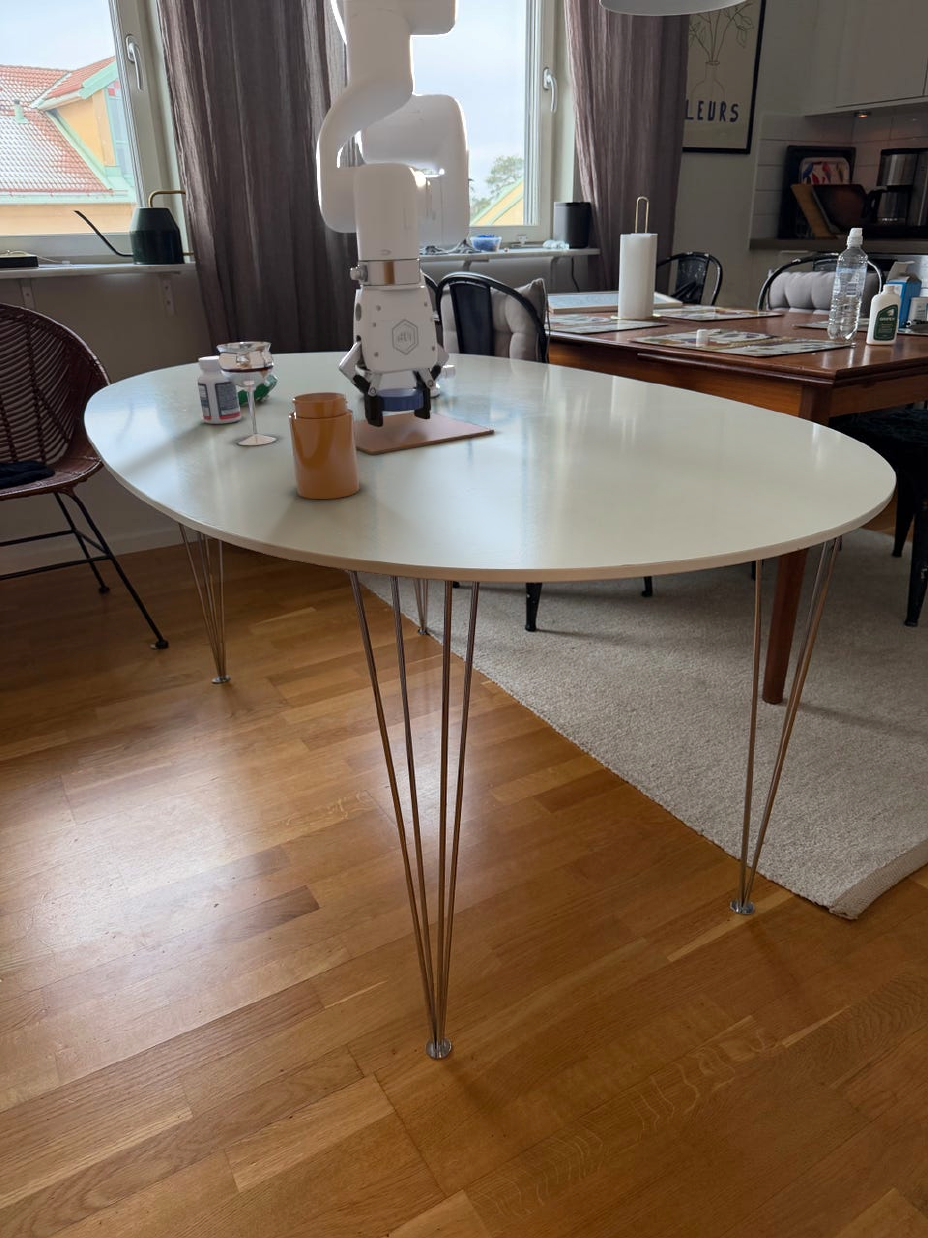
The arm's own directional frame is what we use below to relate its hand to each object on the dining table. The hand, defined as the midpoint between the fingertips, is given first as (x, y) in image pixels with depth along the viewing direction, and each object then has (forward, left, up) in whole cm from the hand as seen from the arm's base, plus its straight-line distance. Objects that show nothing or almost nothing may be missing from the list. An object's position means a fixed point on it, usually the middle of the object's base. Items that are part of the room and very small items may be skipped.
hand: (399, 420), depth 113 cm
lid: (0, 0, +3) cm, 3 cm away
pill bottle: (+16, -24, -2) cm, 29 cm away
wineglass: (+17, -8, -2) cm, 19 cm away
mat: (0, 0, -2) cm, 2 cm away
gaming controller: (+6, -36, -2) cm, 37 cm away
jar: (+20, +20, -2) cm, 28 cm away
